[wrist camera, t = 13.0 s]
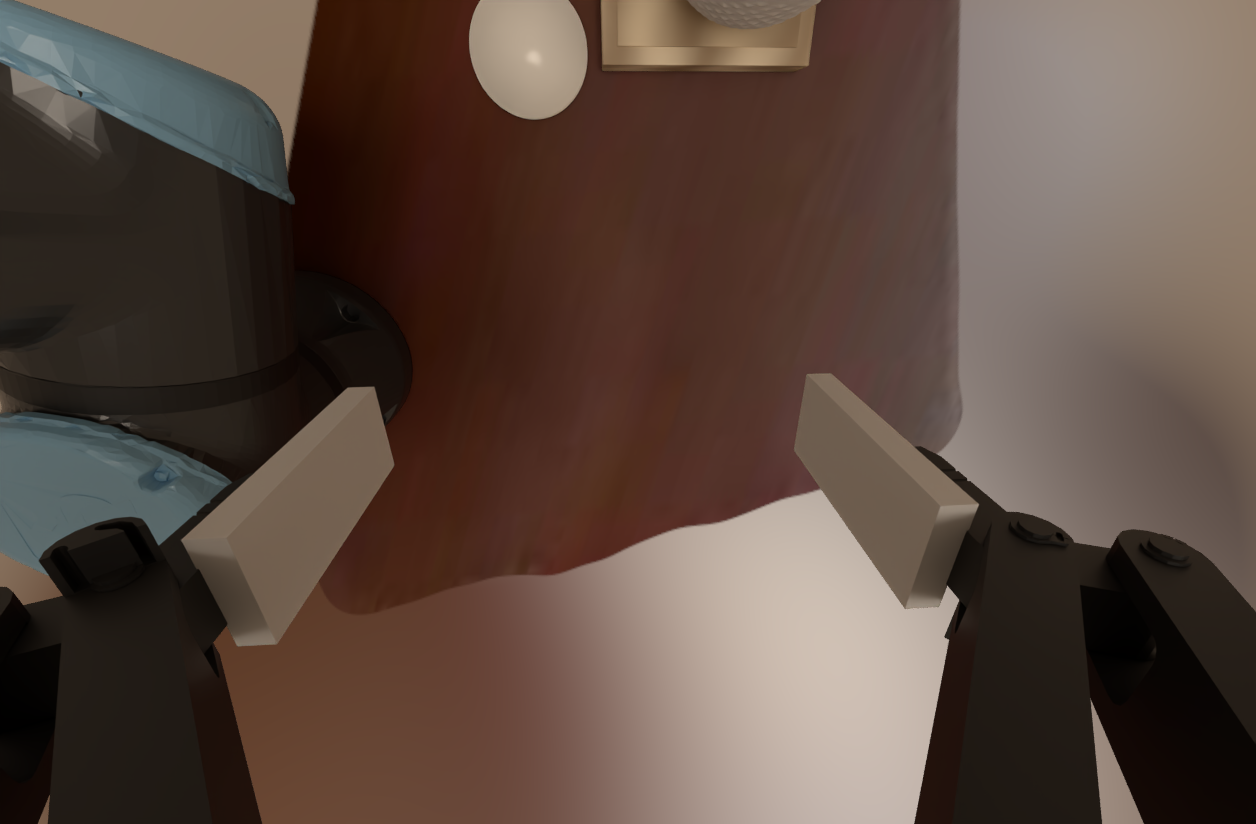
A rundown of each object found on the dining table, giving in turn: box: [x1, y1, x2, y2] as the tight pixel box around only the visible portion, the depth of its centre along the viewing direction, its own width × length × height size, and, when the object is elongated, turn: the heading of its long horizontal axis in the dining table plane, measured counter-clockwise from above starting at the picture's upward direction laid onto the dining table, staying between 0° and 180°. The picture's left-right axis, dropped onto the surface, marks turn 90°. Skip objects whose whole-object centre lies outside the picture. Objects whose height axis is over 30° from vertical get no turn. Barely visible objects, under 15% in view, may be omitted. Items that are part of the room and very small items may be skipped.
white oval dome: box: [469, 0, 587, 120], centre depth 34 cm, size 8×8×1 cm
